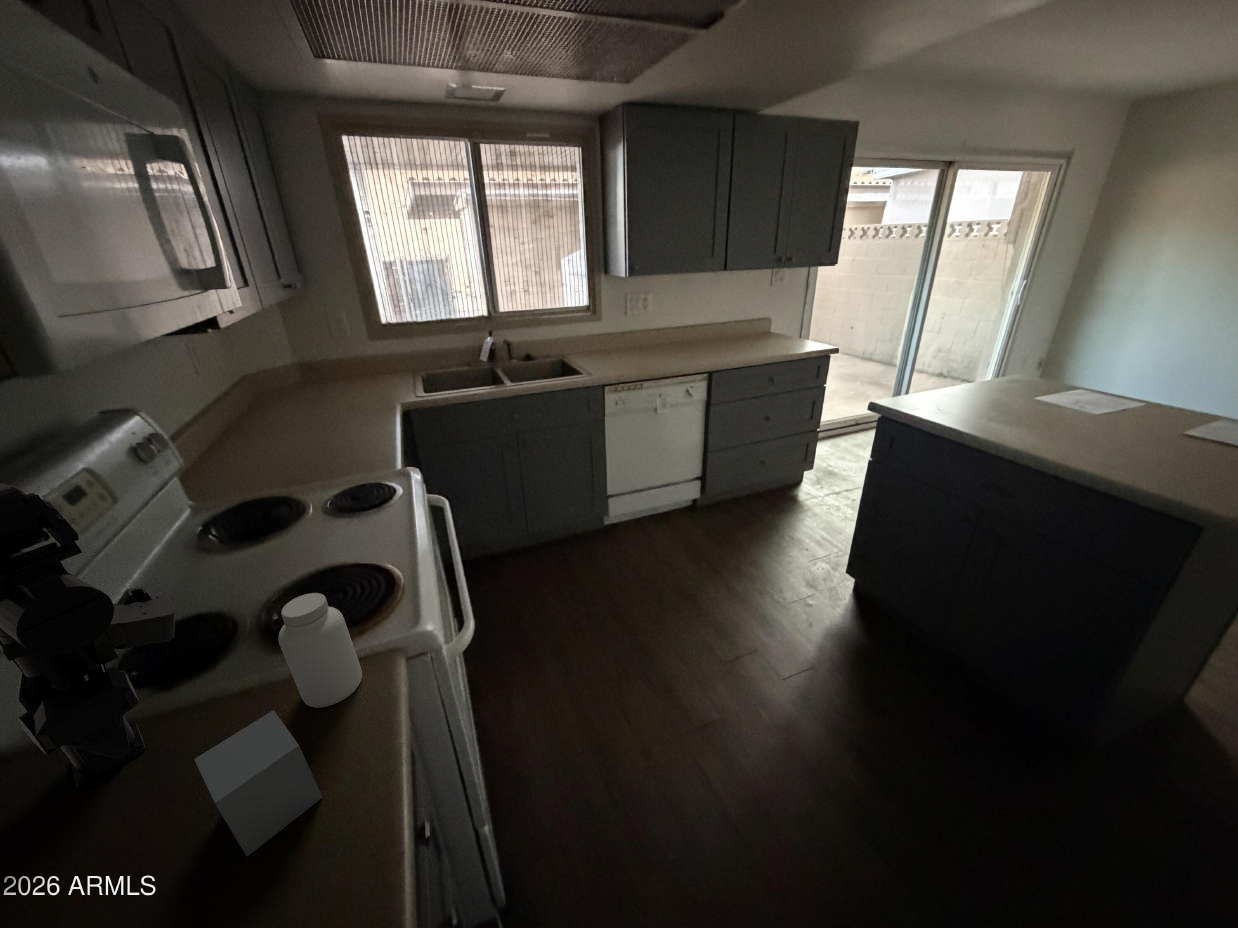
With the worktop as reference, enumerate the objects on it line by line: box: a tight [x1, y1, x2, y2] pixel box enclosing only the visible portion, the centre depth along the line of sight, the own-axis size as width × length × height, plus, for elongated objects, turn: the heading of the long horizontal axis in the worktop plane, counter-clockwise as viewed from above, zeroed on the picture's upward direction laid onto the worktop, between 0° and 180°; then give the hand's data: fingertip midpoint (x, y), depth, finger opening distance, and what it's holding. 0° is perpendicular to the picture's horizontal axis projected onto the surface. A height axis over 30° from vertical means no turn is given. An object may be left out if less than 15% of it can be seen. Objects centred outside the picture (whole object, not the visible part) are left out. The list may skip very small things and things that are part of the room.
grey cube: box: [193, 709, 324, 857], centre depth 56 cm, size 8×8×9 cm
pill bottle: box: [278, 592, 363, 709], centre depth 70 cm, size 8×8×15 cm
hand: (116, 730), depth 54 cm, fingers open, 9 cm apart
